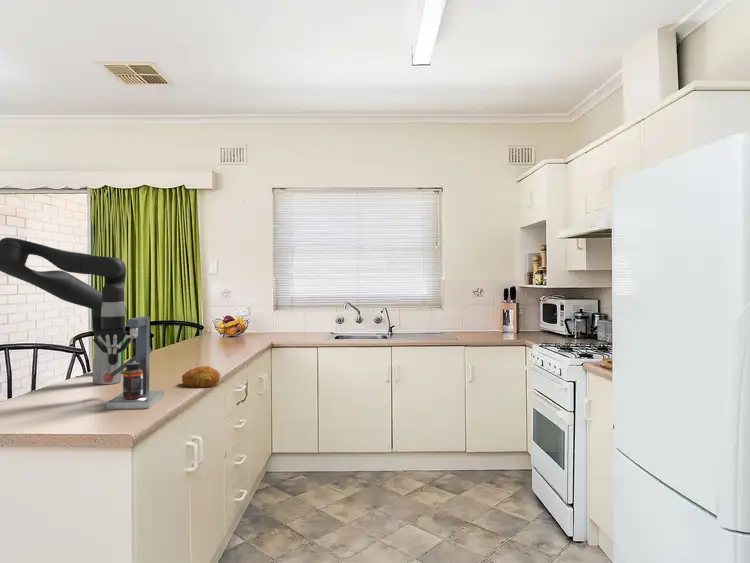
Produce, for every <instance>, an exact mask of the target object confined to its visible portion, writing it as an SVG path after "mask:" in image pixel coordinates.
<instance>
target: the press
mask: <svg viewBox="0 0 750 563" xmlns="http://www.w3.org/2000/svg"><path fill="white" fill-rule="evenodd" d="M150 320H151V318H150V316H136V317H133V318H127V324H126V327H127V328H129V337H130V338H133V339H135V355H136V361H135V363H140V369H141V370H142V371H143V396H142V397H141V398H138V399H124V398H123V392H122V393H119V395H117V396H115V397H114V398H112V399H110V400H108V401H107V402H106V403H105V410H129V409H130V410H132V409H133V410H136V409H137V410H138V409H150V408H152V407H153V406H154V405H155V404H157V403H158V402H159V401H160V400H162V399H163V398H164V397H165V390H150V354H149V347H151V346H150V344H151V343H150V335H151V333H150V329H151V328H150V326H151V324H150Z"/></svg>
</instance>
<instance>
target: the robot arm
mask: <svg viewBox="0 0 750 563" xmlns="http://www.w3.org/2000/svg"><path fill="white" fill-rule="evenodd" d="M29 255H32V256H37V257H41V258H43V259H45V260H47V261H48V262H49V263H51V264H52V265H53V266H55V267H56V268H58V269H59V270H46V271H45V270H44V271H39V270H34V269H31V268H29V267H27V266H26V264H27V260H28V257H29ZM0 272H1V273H3V274H6V275H8V276H11V277H13V278H16V279H18V280H21V281H23V282H25V283H28V284H30V285H32V286H34V287H36V288H39V289H41V290H43V291H45V292H46V293H48V294H50V295H52V296H54V297H56V298H58V299H60V300H62V301H65V302H67V303H69V304H74V305H77V306H80V307H81V306H82V307H84V308H88V309H90V310H91V319H92V332H93V334H94V338H93V340H92V342H94V358H93V360H92V384H95V385H115V384H117V383H120V382H121V379H122V378H121V377H122V376H121V375H122V374H121V372H119V373H118V374H117V375H115V376H114V380H113V381H112V382H111V383H105V382H104V381H103V379H102V378H103V375H104V374H105V373H112V372H113V371H115V370H116V369H117V368H119V367H120V366H121V352H123V351H124V352H125V350H126V349H127V348H128V347H129V345H130V344H131V343H132V341H133V340H134V338H130V335H128V333H127V331H126V315H127V307H126V305H125V283H126V277H127V267H126V264H125V262H124V260H122V259H121V258H119V257H112V256H110V257H109V256H103V255H102V256H100V255H93V254H89V253H83V252H76V251H75V252H74V251H69V250H68V251H67V250H62V249H59V248H54V247H50V246H48V245H44V244H41V243H37V242H32V241H29V240H24V239H21V238H16V237H3V238H1V239H0ZM70 273H72V274H73V273H74V274H81V275H93V276H98V277H103V278H104V286H103V287H102V289H101V290H102V291H100V290H98V289H97V288H94V287H93V286H91V285H90V284H87V283H86V282H84V281H82V280H81V279H79V278H78V277H77V276H74V275H72V274H70ZM123 339H124V344H123V345H122V346H121V342H122V340H123Z"/></svg>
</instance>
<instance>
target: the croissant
mask: <svg viewBox="0 0 750 563" xmlns="http://www.w3.org/2000/svg"><path fill="white" fill-rule="evenodd" d="M181 378H182V379H181V381H182V385H184V386H185V387H189V388H210V387H215V386H216V385H217V384H218V383H219V382H220V379H221V374H220V372H219V371H218V370H216V369H215V368H214V367H211V366H209V365H208V366H207V365H206V366H204V365H201V366H197V367H194V368H191V369H190V370H188V371H186V372H185V373H183V374H182V376H181Z"/></svg>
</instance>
